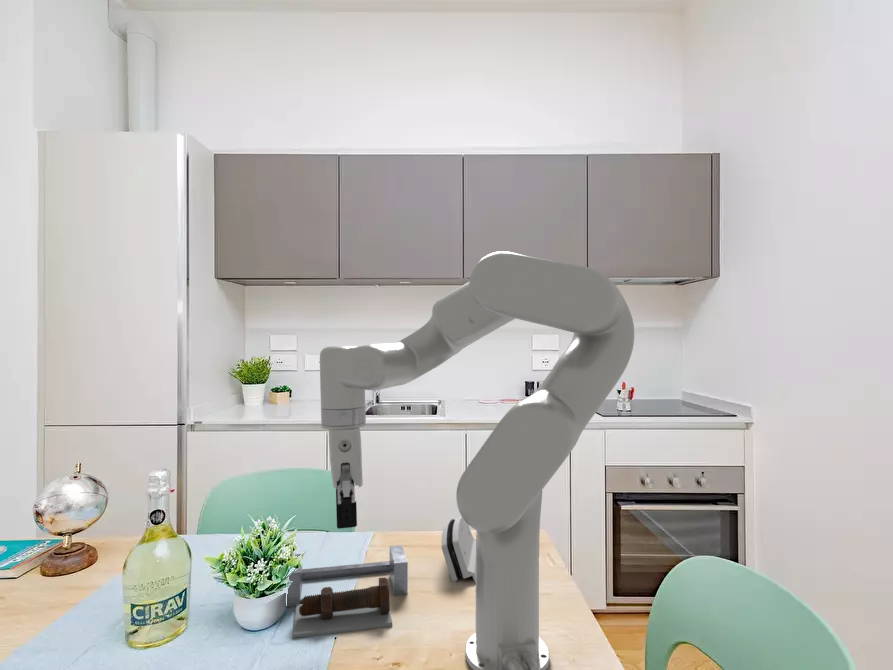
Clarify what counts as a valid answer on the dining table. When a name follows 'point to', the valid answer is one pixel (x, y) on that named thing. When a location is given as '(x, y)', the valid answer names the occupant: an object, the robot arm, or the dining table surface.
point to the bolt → (346, 600)
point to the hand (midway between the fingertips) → (346, 517)
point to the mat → (340, 622)
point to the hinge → (459, 549)
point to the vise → (394, 566)
